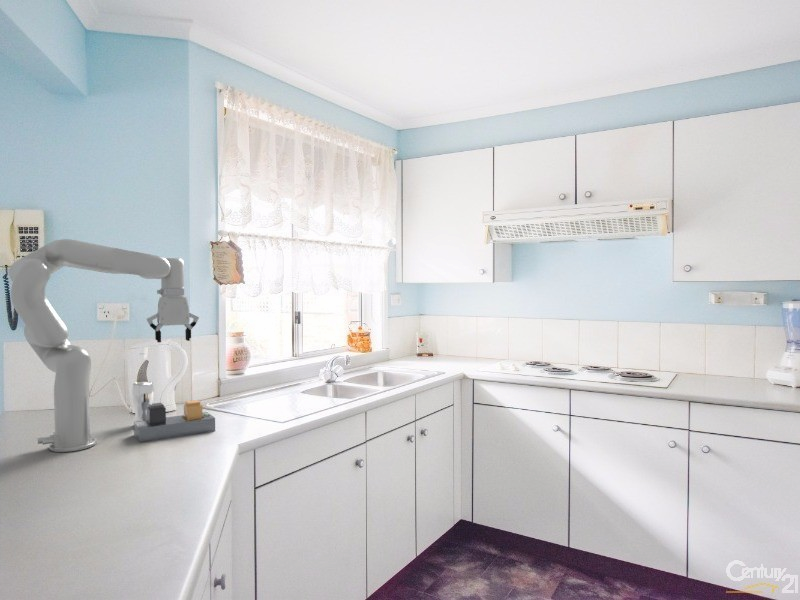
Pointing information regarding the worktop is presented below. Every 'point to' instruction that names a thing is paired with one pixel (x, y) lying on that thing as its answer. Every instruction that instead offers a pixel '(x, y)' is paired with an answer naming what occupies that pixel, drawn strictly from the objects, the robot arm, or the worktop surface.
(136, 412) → the beer glass
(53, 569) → the worktop surface
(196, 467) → the worktop surface
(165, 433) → the power strip
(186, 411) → the plug
